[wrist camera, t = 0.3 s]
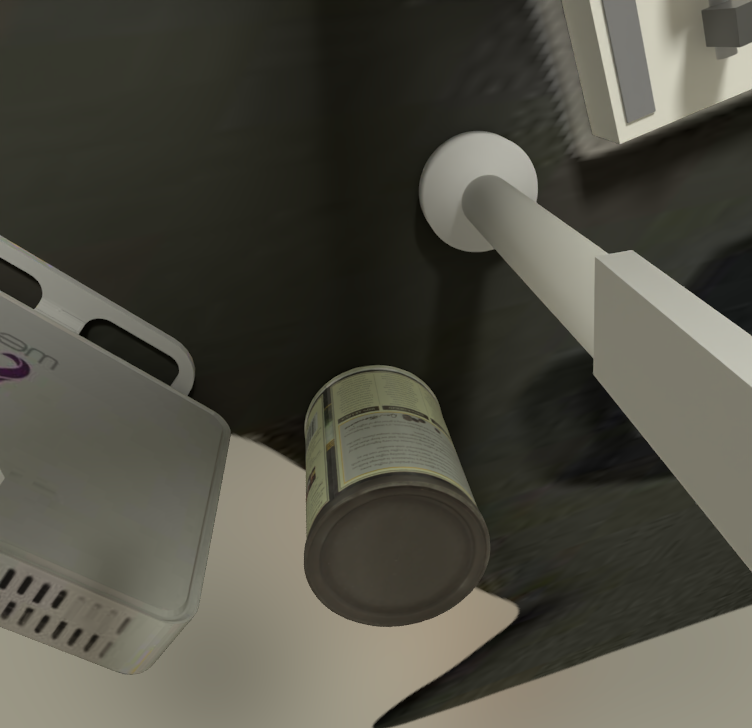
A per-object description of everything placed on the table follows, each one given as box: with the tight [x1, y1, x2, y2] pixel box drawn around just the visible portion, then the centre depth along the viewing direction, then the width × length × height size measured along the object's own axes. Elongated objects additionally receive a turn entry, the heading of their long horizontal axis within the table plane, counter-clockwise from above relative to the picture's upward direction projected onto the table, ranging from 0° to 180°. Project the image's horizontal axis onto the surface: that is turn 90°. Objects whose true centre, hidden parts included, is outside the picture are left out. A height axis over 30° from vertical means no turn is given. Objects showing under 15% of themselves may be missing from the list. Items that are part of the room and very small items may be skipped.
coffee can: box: [304, 365, 490, 627], centre depth 42 cm, size 10×10×14 cm
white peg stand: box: [419, 131, 608, 358], centre depth 30 cm, size 7×7×26 cm
